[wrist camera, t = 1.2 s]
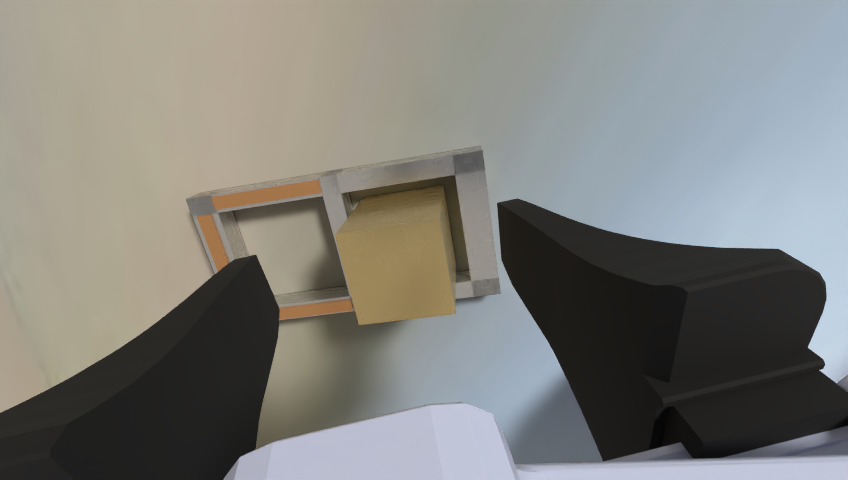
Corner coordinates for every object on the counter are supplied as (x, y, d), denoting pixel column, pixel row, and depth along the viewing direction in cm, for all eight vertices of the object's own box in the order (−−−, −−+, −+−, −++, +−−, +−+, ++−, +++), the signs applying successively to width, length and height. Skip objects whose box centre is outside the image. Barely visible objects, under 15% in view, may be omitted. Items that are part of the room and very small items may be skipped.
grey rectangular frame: (498, 282, 24) (500, 294, 23) (246, 313, 26) (234, 326, 25) (480, 145, 21) (482, 150, 20) (200, 192, 24) (184, 199, 22)
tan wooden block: (455, 259, 24) (455, 313, 18) (380, 269, 25) (358, 325, 19) (443, 184, 22) (439, 219, 17) (363, 197, 23) (334, 234, 17)
